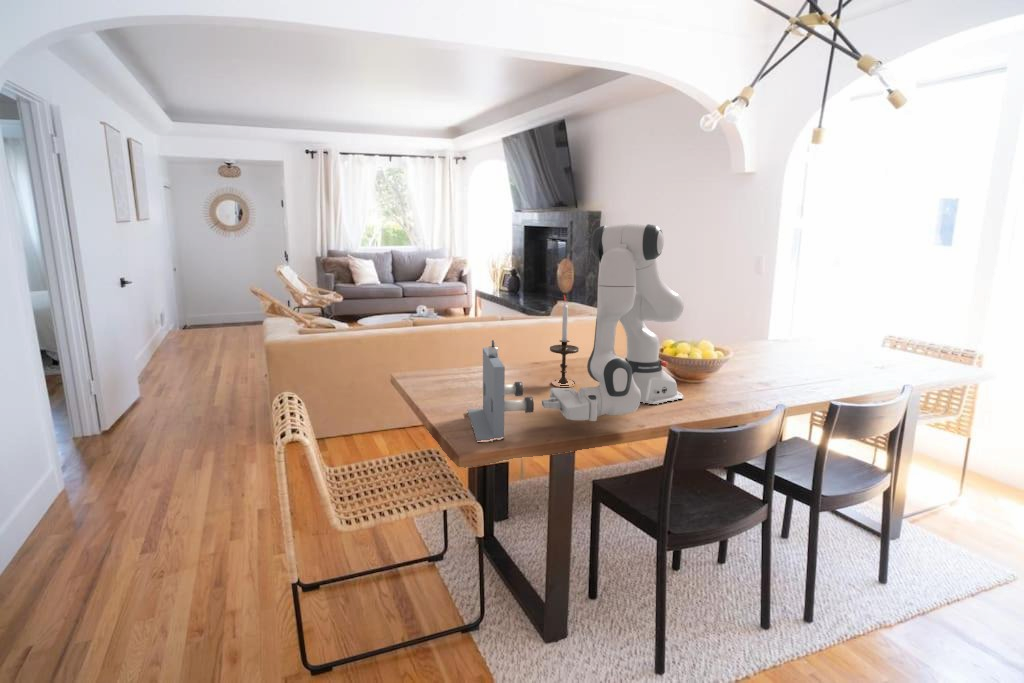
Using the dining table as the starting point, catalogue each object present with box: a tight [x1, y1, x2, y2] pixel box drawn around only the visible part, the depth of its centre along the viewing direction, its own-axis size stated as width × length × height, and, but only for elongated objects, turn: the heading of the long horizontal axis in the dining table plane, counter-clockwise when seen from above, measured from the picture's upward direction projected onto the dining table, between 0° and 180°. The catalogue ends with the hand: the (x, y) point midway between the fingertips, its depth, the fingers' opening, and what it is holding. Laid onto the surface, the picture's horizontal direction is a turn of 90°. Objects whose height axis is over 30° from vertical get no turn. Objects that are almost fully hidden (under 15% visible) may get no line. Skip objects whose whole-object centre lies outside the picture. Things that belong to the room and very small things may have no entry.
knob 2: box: [504, 396, 535, 414], centre depth 172 cm, size 10×5×5 cm, turn 100°
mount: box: [467, 347, 506, 442], centre depth 178 cm, size 8×26×22 cm, turn 10°
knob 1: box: [504, 381, 524, 397], centre depth 187 cm, size 10×5×5 cm, turn 100°
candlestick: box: [549, 294, 580, 386], centre depth 221 cm, size 11×11×35 cm
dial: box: [487, 339, 499, 358], centre depth 175 cm, size 3×3×5 cm
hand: (542, 404), depth 173 cm, fingers closed
